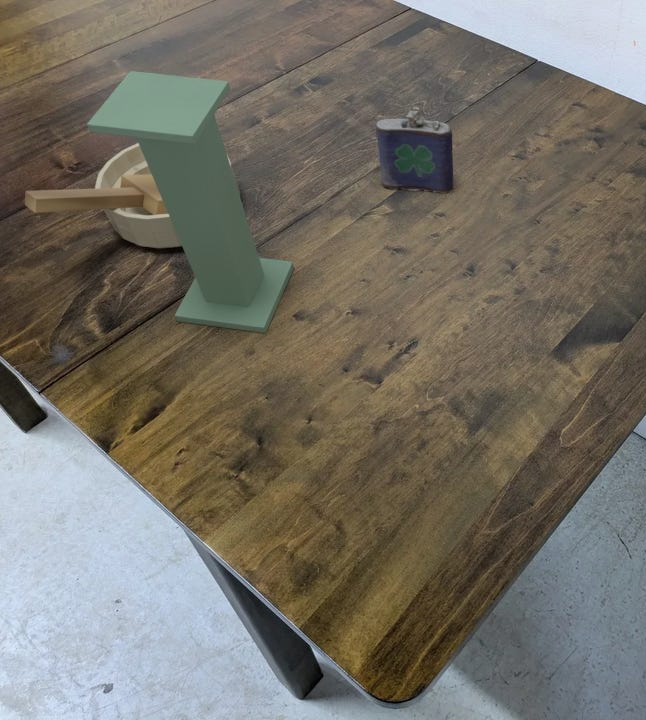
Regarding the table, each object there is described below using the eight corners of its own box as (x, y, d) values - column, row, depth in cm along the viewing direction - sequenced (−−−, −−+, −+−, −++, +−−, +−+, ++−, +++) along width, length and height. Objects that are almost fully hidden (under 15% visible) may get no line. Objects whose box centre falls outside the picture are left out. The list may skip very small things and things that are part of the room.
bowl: (91, 245, 85) (71, 209, 81) (146, 165, 94) (131, 129, 90) (214, 261, 84) (201, 225, 80) (258, 178, 93) (248, 142, 89)
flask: (380, 189, 92) (372, 115, 84) (384, 174, 94) (377, 100, 86) (452, 194, 92) (451, 121, 83) (455, 180, 94) (454, 106, 85)
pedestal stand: (177, 321, 78) (80, 123, 59) (211, 257, 84) (134, 57, 65) (265, 333, 78) (198, 136, 58) (294, 267, 84) (242, 69, 64)
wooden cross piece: (11, 194, 75) (12, 176, 75) (164, 189, 90) (167, 173, 89) (48, 224, 73) (49, 205, 72) (200, 213, 87) (203, 198, 87)
